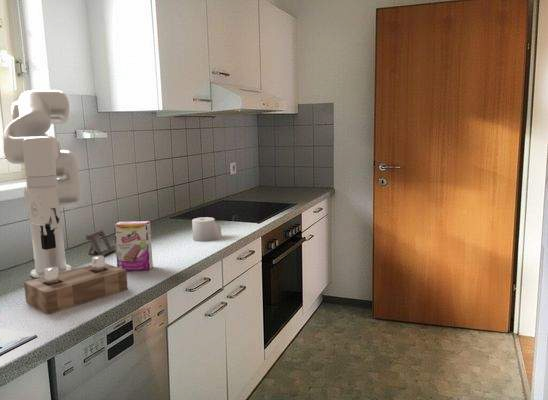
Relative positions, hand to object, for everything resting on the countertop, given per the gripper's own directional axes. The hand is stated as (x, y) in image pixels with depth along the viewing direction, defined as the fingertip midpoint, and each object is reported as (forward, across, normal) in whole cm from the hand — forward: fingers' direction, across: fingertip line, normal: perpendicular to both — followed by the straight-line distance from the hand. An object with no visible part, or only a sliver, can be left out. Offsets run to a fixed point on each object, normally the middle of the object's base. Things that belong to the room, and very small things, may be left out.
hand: (49, 248), depth 134 cm
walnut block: (+16, -1, +7) cm, 18 cm away
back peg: (+12, -1, +14) cm, 19 cm away
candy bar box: (+16, -10, +32) cm, 37 cm away
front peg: (+12, -1, 0) cm, 12 cm away
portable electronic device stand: (+15, -39, +35) cm, 55 cm away
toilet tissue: (+15, -23, +76) cm, 81 cm away
